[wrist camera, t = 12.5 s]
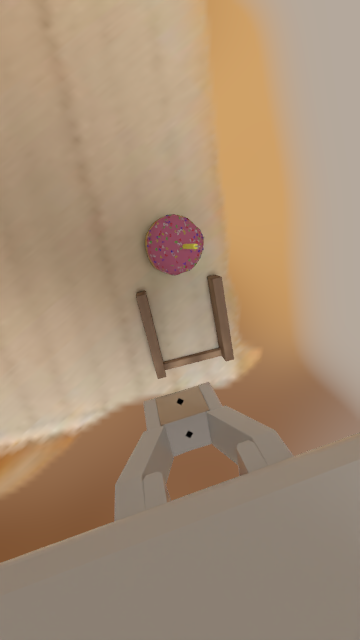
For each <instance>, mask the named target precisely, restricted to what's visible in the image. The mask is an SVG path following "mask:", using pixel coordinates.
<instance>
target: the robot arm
mask: <svg viewBox="0 0 360 640" xmlns="http://www.w3.org/2000/svg"><path fill="white" fill-rule="evenodd" d="M144 411H145V418H146V425H147V431H145V432H143V434H142V436H141V438H140V440H139V442H138V443H137V446H136V447H135V449H134V451H133V453H132V455H131V456H130V458H129V460H128V462H127V464H126V466H125V468H124V469H123V471H122V473H121V475H120V477H119V479H118V481H117V483H116V484H115V522H112V523H109V524H107V525H104V526H101V527H98V528H96V529H93V530H90V531H87V532H84V533H82V534H79V535H76V536H74V537H71V538H68V539H65V540H62V541H60V542H57V543H54V544H51V545H49V546H46V547H44V548H41V549H38V550H35V551H32V552H30V553H27V554H24V555H21V556H19V557H16V558H13V559H10V560H7V561H5V562H2V563H0V640H360V433H357V434H354V435H351V436H349V437H346V438H343V439H341V440H338V441H335V442H332V443H329V444H327V445H324V446H321V447H318V448H316V449H313V450H310V451H307V452H305V453H302V454H300V455H296V456H293V454H292V453H291V452H290V450H289V449H288V448H287V446H286V445H285V444H284V442H283V441H282V439H281V438H280V437H279V435H278V434H277V432H276V431H275V430H273V429H271V428H269V427H267V426H265V425H263V424H261V423H259V422H257V421H255V420H253V419H251V418H250V417H248V416H246V415H243V414H242V413H240V412H237V411H236V410H234V409H232V408H230V407H228V406H222V405H221V403H220V401H219V399H218V397H217V395H216V394H215V392H214V390H213V388H212V386H211V384H210V383H209V382H206V383H203V384H200V385H198V386H195V387H191V388H188V389H185V390H182V391H179V392H175V393H172V394H168V395H164V396H161V397H157V398H154V399H151V400H147V401H144ZM209 444H213V445H214V446H215V447H216V448H217V449H219V450H220V451H221V452H223V453H224V454H225V455H226V456H228V457H229V458H230V459H231V460H232V461H234V462H235V463H236V464H237V465H238V466H239V475H240V476H239V477H236V478H234V479H231V480H228V481H225V482H222V483H220V484H217V485H214V486H211V487H208V488H206V489H203V490H200V491H197V492H195V493H192V494H189V495H187V496H184V497H181V498H178V499H175V500H173V501H171V499H170V496H169V493H168V490H167V487H166V482H167V479H168V476H169V472H170V469H171V466H172V462H173V459H174V458H173V457H174V456H177V455H179V454H182V453H185V452H187V451H190V450H193V449H196V448H199V447H203V446H206V445H209Z"/></svg>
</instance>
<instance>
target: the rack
mask: <svg viewBox="0 0 360 640" xmlns="http://www.w3.org/2000/svg"><path fill="white" fill-rule="evenodd" d="M207 278H208V284H209V290H210V296H211V302H212V308H213V314H214V320H215V326H216V332H217V337H218V343H219V348H217V349H213V350H209V351H205V352H201V353H197V354H193V355H189V356H185V357H181V358H177V359H173V360H169V361H165V362H163V359H162V355H161V351H160V347H159V343H158V339H157V335H156V331H155V327H154V323H153V319H152V315H151V311H150V307H149V303H148V299H147V295H146V291H143V292H138V293H137V294H136V298H137V302H138V306H139V309H140V313H141V317H142V321H143V324H144V328H145V332H146V336H147V340H148V343H149V347H150V351H151V355H152V358H153V362H154V366H155V370H156V373H157V377H158V379H160V378H163V377H166V372H165V370H167V369H171V368H175V367H179V366H183V365H187V364H191V363H195V362H199V361H202V360H206V359H210V358H214V357H218V356H222V357H223V358H224V359H225V361H229V360H233V359H234V356H233V349H232V343H231V336H230V330H229V323H228V316H227V310H226V303H225V297H224V290H223V283H222V277H220V276H217V275H213V276H208V277H207Z"/></svg>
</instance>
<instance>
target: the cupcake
mask: <svg viewBox="0 0 360 640" xmlns="http://www.w3.org/2000/svg"><path fill="white" fill-rule="evenodd" d="M203 238H204V237H203V235H202V233H201V230H200V229H199V228H198V227H196V226H195V225H194V224H193V223H192V222H191V221H190V220H189V219H188V218H185V217H183V216H179V215H175V214H173V215H168V216H167V215H166V216H165V217H162V218H160V219H158V220H157V221H156V222H154V223H153V225H152V226H151V227H150V229H149V230H148V232H147V234H146V239H145V247H146V251H147V254H148V257H149V260H150V262H151V264H152V265H153V266H154V267H155V268H156V269H157V270H160V271H162V272H164V273H168V274H171V275H178V274H180V273H183V272H186V271H190V270H191V269H192V268H193V267H194V266H195V265H196V264H197V262H198V261H199V259H200V258H201V254H202V250H203V246H204V245H203V244H204V243H203Z"/></svg>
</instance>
